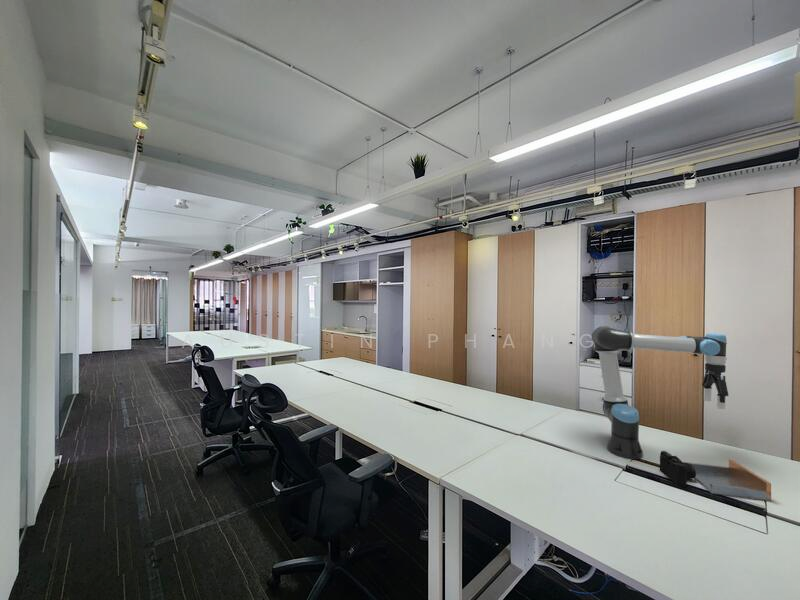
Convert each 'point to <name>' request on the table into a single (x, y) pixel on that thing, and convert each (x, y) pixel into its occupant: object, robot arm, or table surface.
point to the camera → (676, 469)
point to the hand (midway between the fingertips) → (713, 404)
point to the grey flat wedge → (732, 481)
